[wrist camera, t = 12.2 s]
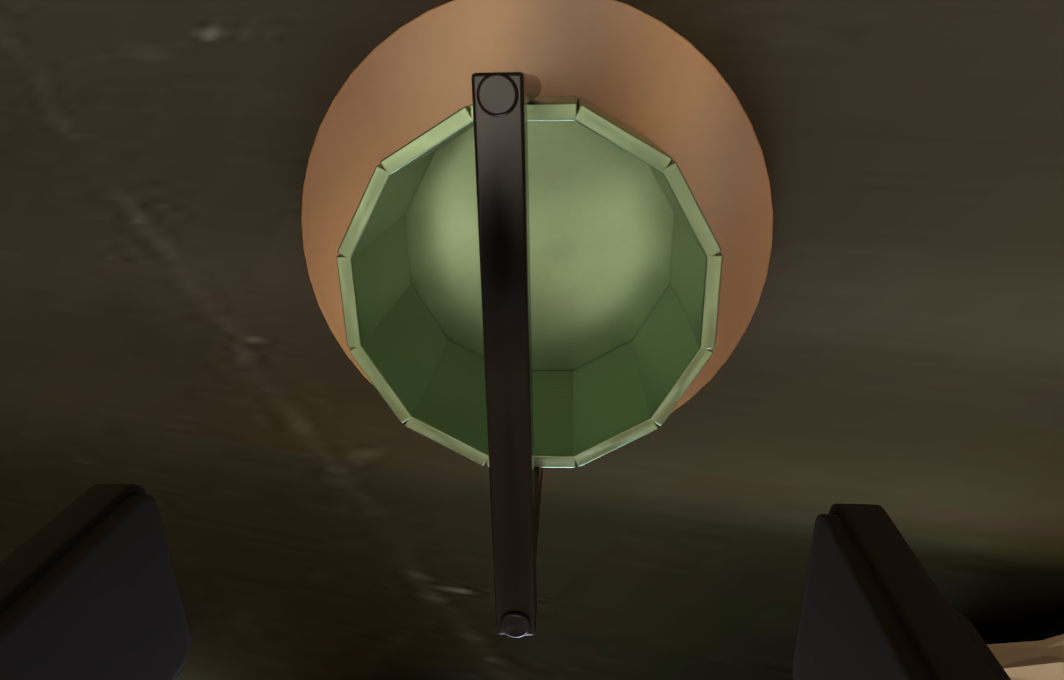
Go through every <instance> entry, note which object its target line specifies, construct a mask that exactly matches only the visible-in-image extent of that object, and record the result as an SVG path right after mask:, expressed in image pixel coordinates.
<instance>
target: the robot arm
mask: <svg viewBox="0 0 1064 680" xmlns="http://www.w3.org/2000/svg"><path fill="white" fill-rule="evenodd" d="M190 650H191V635H190V631H189V627H188V623H187V619H186V615H185V611H184V607H183V604H182V600H181V596H180V592H179V588H178V584H177V580H176V576H175V572H174V568H173V564H172V560H171V557H170V553H169V549H168V545H167V541H166V537H165V533H164V529H163V525H162V521H161V517H160V514H159V510H158V506H157V503H156V500H155V499H154V498H153V497H152V496H150V495H147V493H146V491H145V490H144V489H143V488H142V486H139V485H135V484H96V485H94V486H92V487H90V488H89V489H87V490H86V491H85V492H84V493H83V494H81V495H80V496H79V497H78V498H77V499H75V500H74V501H73V502H72V503H71V504H69V505H68V506H67V507H66V508H65V509H64V510H62V511H61V512H60V513H59V514H58V515H56V516H55V517H54V518H53V519H52V520H50V521H49V522H48V523H47V524H46V525H44V526H43V527H42V528H41V529H40V530H38V531H37V532H36V533H35V534H34V535H33V536H31V537H30V538H29V539H28V540H27V541H25V542H24V543H23V544H22V545H21V546H19V547H18V548H17V549H16V550H15V551H13V552H12V553H11V554H10V555H9V556H8V557H6V558H5V559H4V560H3V561H2V562H0V680H175V679H176V678H177V676H178V675H179V673H180V672H181V671H182V669H183V668H184V666H185V664H186V662H187V660H188V657H189V655H190ZM793 680H1011V679H1010V677H1009V676H1008V674H1007V673H1006V672H1005V670H1004V669H1003V667H1002V666H1001V664H1000V663H999V661H998V660H997V659H996V657H995V656H994V654H993V653H992V651H991V650H990V649H989V647H988V646H987V644H986V643H985V641H984V640H983V638H982V637H981V636H980V634H979V633H978V631H977V630H976V628H975V627H974V625H973V624H972V623H971V622H970V621H969V620H968V619H967V617H966V616H965V615H963V614H961V613H960V612H958V611H956V610H952V609H951V608H950V606H949V605H948V603H947V602H946V600H945V599H944V597H943V596H942V594H941V593H940V591H939V590H938V588H937V587H936V585H935V584H934V582H933V581H932V580H931V578H930V577H929V575H928V574H927V572H926V571H925V569H924V568H923V566H922V565H921V563H920V562H919V560H918V559H917V557H916V556H915V554H914V553H913V551H912V550H911V548H910V547H909V545H908V544H907V542H906V541H905V539H904V538H903V537H902V535H901V534H900V532H899V531H898V529H897V528H896V526H895V525H894V523H893V522H892V520H891V519H890V517H889V516H888V514H887V513H886V511H885V510H884V509H883V508H882V507H881V506H879V505H868V504H834V505H832V507H831V509H830V511H829V514H820V515H818V517H817V518H816V522H815V527H814V533H813V540H812V546H811V553H810V559H809V565H808V572H807V578H806V585H805V591H804V597H803V604H802V610H801V617H800V623H799V629H798V636H797V642H796V649H795V655H794V661H793Z"/></svg>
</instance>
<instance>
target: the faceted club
mask: <svg viewBox="0 0 1064 680" xmlns="http://www.w3.org/2000/svg"><path fill="white" fill-rule="evenodd" d="M987 646H988V647H989V649H990V650H991V651H992V653H993V654H994V656H995V657H996V659H997V660H998V661H999V663H1000V664H1001V666H1002V667H1003V669H1004V670H1005V672H1006V673H1007V674H1008V676H1009V677H1010V679H1011V680H1064V634H1062V635H1059V636H1055V637H1052V638H1048V639H1045V640H1041V641H1029V642H1015V643H1001V644H987Z"/></svg>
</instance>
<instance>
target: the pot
mask: <svg viewBox="0 0 1064 680" xmlns="http://www.w3.org/2000/svg"><path fill="white" fill-rule="evenodd" d="M471 81H472V102H473V104H471V105H468V106H464V107H463V108H461V109H460V110H458V111H456V112H455V113H453V114H452V115H450V116H449V117H447V118H446V119H444V120H443V121H441V122H440V123H438V124H436V125H435V126H433V127H432V128H430V129H429V130H427V131H426V132H424V133H423V134H421V135H420V136H418V137H416V138H415V139H413V140H412V141H410V142H409V143H407V144H406V145H404V146H403V147H401V148H400V149H398V150H396V151H395V152H393V153H392V154H390V155H389V156H387V157H386V158H384V159H383V160H381V161H380V164H379V165H377V166H376V167H375V170H374V172H373V174H372V176H371V178H370V181H369V183H368V185H367V187H366V189H365V192H364V194H363V196H362V198H361V200H360V202H359V205H358V207H357V209H356V211H355V213H354V216H353V218H352V220H351V222H350V224H349V227H348V229H347V231H346V233H345V235H344V238H343V240H342V242H341V244H340V246H339V248H338V251H337V253H338V254H339V255H338V256H337V257H336V259H337V267H338V275H339V284H340V292H341V300H342V308H343V316H344V325H345V333H346V341H347V347H348V348H351V349H350V350H349V352H350V354H351V355H352V356H353V358H354V359H355V360H356V362H357V363H358V365H359V366H360V367H361V369H362V370H363V371H364V373H365V374H366V376H367V377H368V378H369V380H370V381H371V382H372V384H373V385H374V386H375V388H376V389H377V391H378V392H379V393H380V395H381V396H382V397H383V399H384V400H385V402H386V403H387V404H388V406H389V407H390V408H391V410H392V411H393V413H394V414H395V415H396V417H397V418H398V419H399V421H400V422H401V423H403V422H405V421H406V423H405V426H406V427H408V428H410V429H412V430H414V431H415V432H417V433H419V434H421V435H423V436H425V437H427V438H429V439H431V440H433V441H435V442H437V443H439V444H441V445H443V446H445V447H447V448H449V449H451V450H453V451H455V452H457V453H459V454H461V455H463V456H465V457H467V458H469V459H471V460H473V461H475V462H477V463H479V464H481V465H484V464H485V463H486V464H487V466H488V467H489V473H490V494H491V516H492V538H493V560H494V582H495V603H496V625H497V633H498V634H504V635H507V636H509V637H513V638H519V637H523V636H525V635H534V634H535V628H536V614H537V591H536V554H537V541H538V528H539V515H540V503H541V490H542V477H543V467H544V468H575V462H576V464H577V466H578V467H580V466H582V465H584V464H586V463H588V462H590V461H592V460H595V459H597V458H599V457H601V456H603V455H605V454H607V453H609V452H611V451H613V450H615V449H617V448H619V447H621V446H623V445H625V444H628V443H630V442H632V441H634V440H636V439H638V438H640V437H642V436H644V435H646V434H648V433H650V432H652V431H654V430H656V429H658V425H660V426H661V425H662V424H663V423H664V422H665V420H666V419H667V417H668V416H669V415H670V413H671V412H672V410H673V409H674V408H675V406H676V405H677V403H678V402H679V401H680V399H681V398H682V396H683V395H684V394H685V392H686V391H687V389H688V388H689V387H690V385H691V384H692V382H693V381H694V380H695V378H696V377H697V375H698V374H699V373H700V371H701V370H702V368H703V367H704V366H705V364H706V363H707V361H708V360H709V359H710V357H711V356H712V354H713V351H712V349H715V346H716V333H717V321H718V309H719V297H720V285H721V273H722V261H723V256H722V254H721V253H720V252H721V251H722V250H721V247H720V246H719V244H718V242H717V240H716V238H715V236H714V234H713V232H712V230H711V228H710V226H709V224H708V222H707V220H706V218H705V217H704V215H703V213H702V211H701V209H700V207H699V205H698V203H697V201H696V199H695V197H694V195H693V193H692V191H691V189H690V187H689V186H688V184H687V182H686V180H685V178H684V176H683V174H682V172H681V170H680V168H679V166H678V164H677V163H676V162H675V161H674V160H673V159H672V157H671V156H669V155H668V154H667V153H666V152H665V151H663V150H662V149H661V148H660V147H659V146H657V145H656V144H655V143H654V142H653V141H651V140H650V139H649V138H648V137H647V136H645V135H643V134H642V133H640V132H638V131H637V130H635V129H633V128H631V127H630V126H628V125H626V124H625V123H623V122H621V121H620V120H618V119H616V118H615V117H614V116H612V115H610V114H608V113H606V112H605V111H603V110H601V109H600V108H598V107H596V106H595V105H593V104H591V103H589V102H588V101H586V100H584V99H583V98H581V97H579V98H578V100H577V98H576V96H538V95H539V94H540V92H541V82H540V80H539V79H538V77H536V76H535V75H533V74H525V73H523V72H489V73H474V74H472V77H471ZM657 424H658V425H657Z"/></svg>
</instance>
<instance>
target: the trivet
mask: <svg viewBox="0 0 1064 680" xmlns="http://www.w3.org/2000/svg"><path fill="white" fill-rule="evenodd" d="M489 72H523V73H525V74H533V75H535V76H536V77H538V79H539V80H540V82H541V92H540V94H539V95H538V96H576V98H577V100H578V98H579V97H581V98H583V99H584V100H586V101H588V102H589V103H591V104H593V105H595V106H596V107H598V108H600V109H601V110H603V111H605V112H606V113H608V114H610V115H612V116H614V117H615V118H616V119H618V120H620V121H621V122H623V123H625V124H626V125H628V126H630V127H631V128H633V129H635V130H637V131H638V132H640V133H642V134H643V135H645V136H647V137H648V138H649V139H650V140H651V141H653V142H654V143H655V144H656V145H657V146H659V147H660V148H661V149H662V150H663V151H665V152H666V153H667V154H668V155H669V156H671V157H672V159H673V160H674V161H675V162H676V163H677V164H678V166H679V168H680V170H681V172H682V174H683V176H684V178H685V180H686V182H687V184H688V186H689V187H690V189H691V191H692V193H693V195H694V197H695V199H696V201H697V203H698V205H699V207H700V209H701V211H702V213H703V215H704V217H705V218H706V220H707V222H708V224H709V226H710V228H711V230H712V232H713V234H714V236H715V238H716V240H717V242H718V244H719V246H720V247H721V250H722V251H721V252H720V253H721V254H722V256H723V261H722V273H721V285H720V297H719V309H718V321H717V333H716V346H715V349H712V351H713V354H712V356H711V357H710V359H709V360H708V361H707V363H706V364H705V366H704V367H703V368H702V370H701V371H700V373H699V374H698V375H697V377H696V378H695V380H694V381H693V382H692V384H691V385H690V387H689V388H688V389H687V391H686V392H685V394H684V395H683V396H682V398H681V399H680V401H679V402H678V403H677V405H676V406H675V408H674V409H673V410H672V412H673V411H674V410H676V409H677V408H679V407H680V406H681V405H683V404H684V403H685V402H687V401H688V400H689V399H691V398H692V397H693V396H694V395H695V394H696V393H697V392H698V391H699V390H700V389H701V388H702V387H703V386H704V385H705V384H707V383H708V382H709V381H710V380H711V379H712V377H713V376H714V375H715V374H716V373H717V371H718V370H719V369H720V368H721V367H722V365H723V364H724V363H725V362H726V361H727V359H728V358H729V357H730V355H731V354H732V352H733V351H734V349H735V347H736V346H737V344H738V343H739V341H740V340H741V338H742V336H743V335H744V333H745V331H746V329H747V327H748V325H749V323H750V321H751V319H752V316H753V314H754V312H755V310H756V308H757V306H758V303H759V299H760V296H761V293H762V290H763V287H764V284H765V280H766V277H767V272H768V267H769V261H770V255H771V249H772V235H773V207H772V197H771V186H770V180H769V176H768V172H767V168H766V164H765V159H764V155H763V151H762V149H761V146H760V144H759V141H758V139H757V136H756V134H755V131H754V128H753V126H752V123H751V121H750V119H749V117H748V116H747V114H746V112H745V110H744V109H743V107H742V105H741V103H740V101H739V100H738V98H737V96H736V94H735V93H734V91H733V90H732V89H731V87H730V86H729V85H728V83H727V82H726V81H725V80H724V78H723V77H722V76H721V74H720V73H719V72H718V70H717V69H716V68H715V67H714V65H713V64H712V63H711V62H710V61H709V60H708V59H706V58H705V57H704V56H703V55H702V54H701V53H700V52H699V51H698V50H697V49H696V48H695V47H694V46H693V45H692V44H691V43H690V42H689V41H688V40H686V39H685V38H683V37H682V36H681V35H679V34H678V33H677V32H675V31H674V30H672V29H671V28H670V27H668V26H667V25H666V24H664V23H663V22H661V21H660V20H658V19H656V18H654V17H652V16H650V15H648V14H646V13H644V12H642V11H641V10H639V9H637V8H635V7H633V6H631V5H628V4H626V3H623V2H620V1H617V0H452V1H450V2H448V3H445V4H443V5H440V6H438V7H436V8H433V9H431V10H428V11H427V12H425V13H423V14H422V15H420V16H418V17H417V18H415V19H413V20H412V21H410V22H408V23H407V24H405V25H403V26H402V27H400V28H399V29H397V30H396V31H395V32H394V33H393V34H391V35H390V36H389V37H388V38H386V39H385V40H384V41H383V42H381V43H380V44H379V45H378V46H377V47H375V48H374V49H373V50H372V51H371V52H370V53H369V54H368V56H367V57H366V58H365V59H364V60H363V61H362V62H361V63H360V64H359V65H358V66H357V67H356V69H355V70H354V71H353V72H352V73H351V74H350V76H349V77H348V79H347V80H346V82H345V83H344V85H343V86H342V87H341V89H340V90H339V92H338V93H337V95H336V96H335V98H334V99H333V101H332V103H331V105H330V107H329V109H328V111H327V113H326V115H325V117H324V119H323V121H322V123H321V125H320V127H319V129H318V132H317V135H316V138H315V141H314V144H313V147H312V150H311V153H310V156H309V160H308V165H307V170H306V175H305V180H304V186H303V197H302V214H301V222H302V236H303V249H304V254H305V259H306V264H307V268H308V273H309V278H310V281H311V284H312V287H313V290H314V293H315V296H316V299H317V302H318V305H319V307H320V309H321V311H322V313H323V315H324V317H325V319H326V321H327V323H328V325H329V328H330V330H331V332H332V333H333V335H334V336H335V338H336V339H337V341H338V342H339V344H340V346H341V347H342V349H343V350H344V352H345V353H346V355H347V356H348V357H349V359H350V360H351V361H352V362H353V363H354V365H355V366H356V367H357V368H358V369H359V371H360V372H361V373H362V374H363V375H364V377H365V378H366V379H367V380H368V381H369V382H371V381H370V380H369V378H368V377H367V376H366V374H365V373H364V371H363V370H362V369H361V367H360V366H359V365H358V363H357V362H356V360H355V359H354V358H353V356H352V355H351V354H350V352H349V350H350V349H351V348H348V347H347V341H346V333H345V325H344V316H343V308H342V300H341V292H340V284H339V275H338V267H337V259H336V257H337V256H338V255H339V254H338V253H337V251H338V248H339V246H340V244H341V242H342V240H343V238H344V235H345V233H346V231H347V229H348V227H349V224H350V222H351V220H352V218H353V216H354V213H355V211H356V209H357V207H358V205H359V202H360V200H361V198H362V196H363V194H364V192H365V189H366V187H367V185H368V183H369V181H370V178H371V176H372V174H373V172H374V170H375V167H376V166H377V165H379V164H380V161H381V160H383V159H384V158H386V157H387V156H389V155H390V154H392V153H393V152H395V151H396V150H398V149H400V148H401V147H403V146H404V145H406V144H407V143H409V142H410V141H412V140H413V139H415V138H416V137H418V136H420V135H421V134H423V133H424V132H426V131H427V130H429V129H430V128H432V127H433V126H435V125H436V124H438V123H440V122H441V121H443V120H444V119H446V118H447V117H449V116H450V115H452V114H453V113H455V112H456V111H458V110H460V109H461V108H463V107H464V106H468V105H471V104H473V102H472V81H471V77H472V74H474V73H489ZM371 383H372V382H371ZM672 412H671V413H672Z"/></svg>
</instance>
